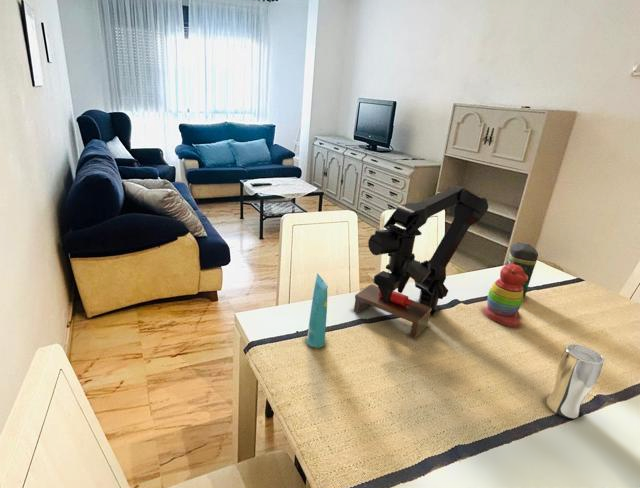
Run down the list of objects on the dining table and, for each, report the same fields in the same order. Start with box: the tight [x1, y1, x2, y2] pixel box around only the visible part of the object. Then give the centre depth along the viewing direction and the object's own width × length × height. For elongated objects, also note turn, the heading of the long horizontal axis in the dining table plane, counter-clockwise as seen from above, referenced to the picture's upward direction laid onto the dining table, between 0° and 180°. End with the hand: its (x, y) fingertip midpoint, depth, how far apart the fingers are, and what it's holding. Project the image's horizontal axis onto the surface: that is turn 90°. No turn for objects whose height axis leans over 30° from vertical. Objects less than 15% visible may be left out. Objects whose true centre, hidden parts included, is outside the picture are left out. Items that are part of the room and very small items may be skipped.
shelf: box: [353, 283, 432, 339], centre depth 116 cm, size 10×20×6 cm, turn 49°
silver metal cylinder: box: [546, 343, 605, 419], centre depth 84 cm, size 7×7×15 cm
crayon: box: [379, 290, 413, 307], centre depth 114 cm, size 9×3×3 cm, turn 49°
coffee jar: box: [505, 242, 539, 300], centre depth 133 cm, size 10×8×19 cm
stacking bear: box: [483, 262, 528, 328], centre depth 119 cm, size 11×10×18 cm
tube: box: [306, 272, 329, 349], centre depth 101 cm, size 7×5×19 cm, turn 20°
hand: (393, 297), depth 115 cm, fingers open, 9 cm apart
